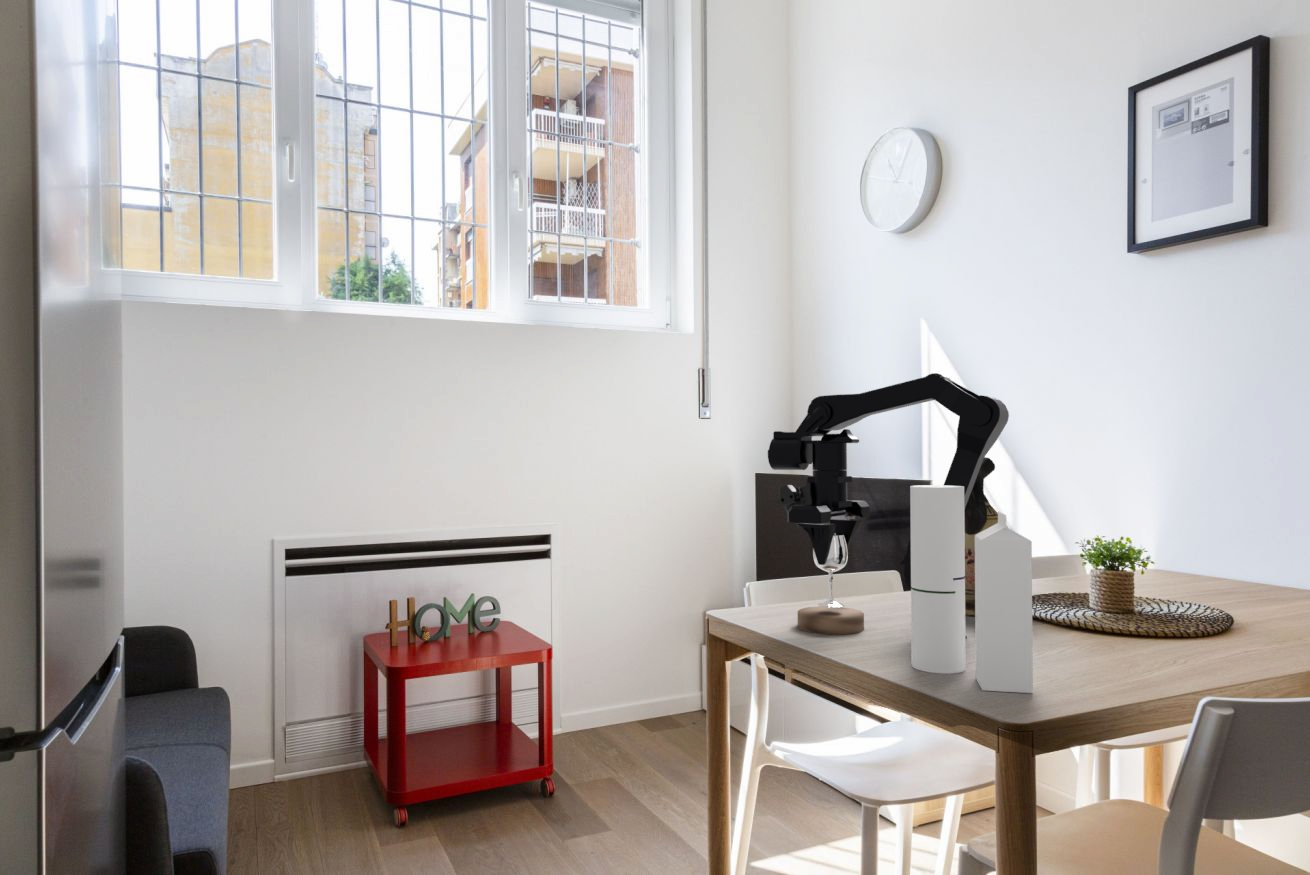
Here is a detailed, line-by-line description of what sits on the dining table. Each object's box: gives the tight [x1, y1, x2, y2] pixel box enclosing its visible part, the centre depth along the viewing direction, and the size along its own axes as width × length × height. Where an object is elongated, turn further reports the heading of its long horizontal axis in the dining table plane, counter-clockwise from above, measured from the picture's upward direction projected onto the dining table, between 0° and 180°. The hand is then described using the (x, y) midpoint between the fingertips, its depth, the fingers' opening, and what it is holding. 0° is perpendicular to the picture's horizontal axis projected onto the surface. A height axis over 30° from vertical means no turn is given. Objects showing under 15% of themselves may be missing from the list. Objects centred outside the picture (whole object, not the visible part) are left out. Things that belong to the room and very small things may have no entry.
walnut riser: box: [797, 606, 865, 635], centre depth 144 cm, size 11×11×2 cm
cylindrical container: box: [909, 484, 967, 675], centre depth 119 cm, size 7×7×25 cm
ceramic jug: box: [964, 456, 1008, 621], centre depth 157 cm, size 17×15×30 cm
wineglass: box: [812, 533, 849, 608], centre depth 145 cm, size 6×6×12 cm
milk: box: [974, 511, 1034, 694], centre depth 109 cm, size 6×6×22 cm
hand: (830, 562), depth 145 cm, fingers closed on wineglass, 6 cm apart
